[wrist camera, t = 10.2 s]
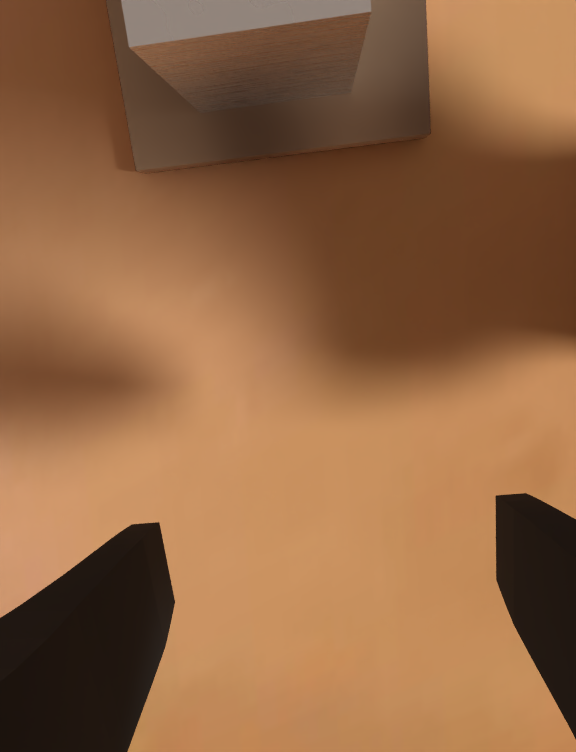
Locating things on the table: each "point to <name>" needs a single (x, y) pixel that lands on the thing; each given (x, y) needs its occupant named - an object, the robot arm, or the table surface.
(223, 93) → the brushed steel brick
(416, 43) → the thin tan panel
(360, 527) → the table surface
